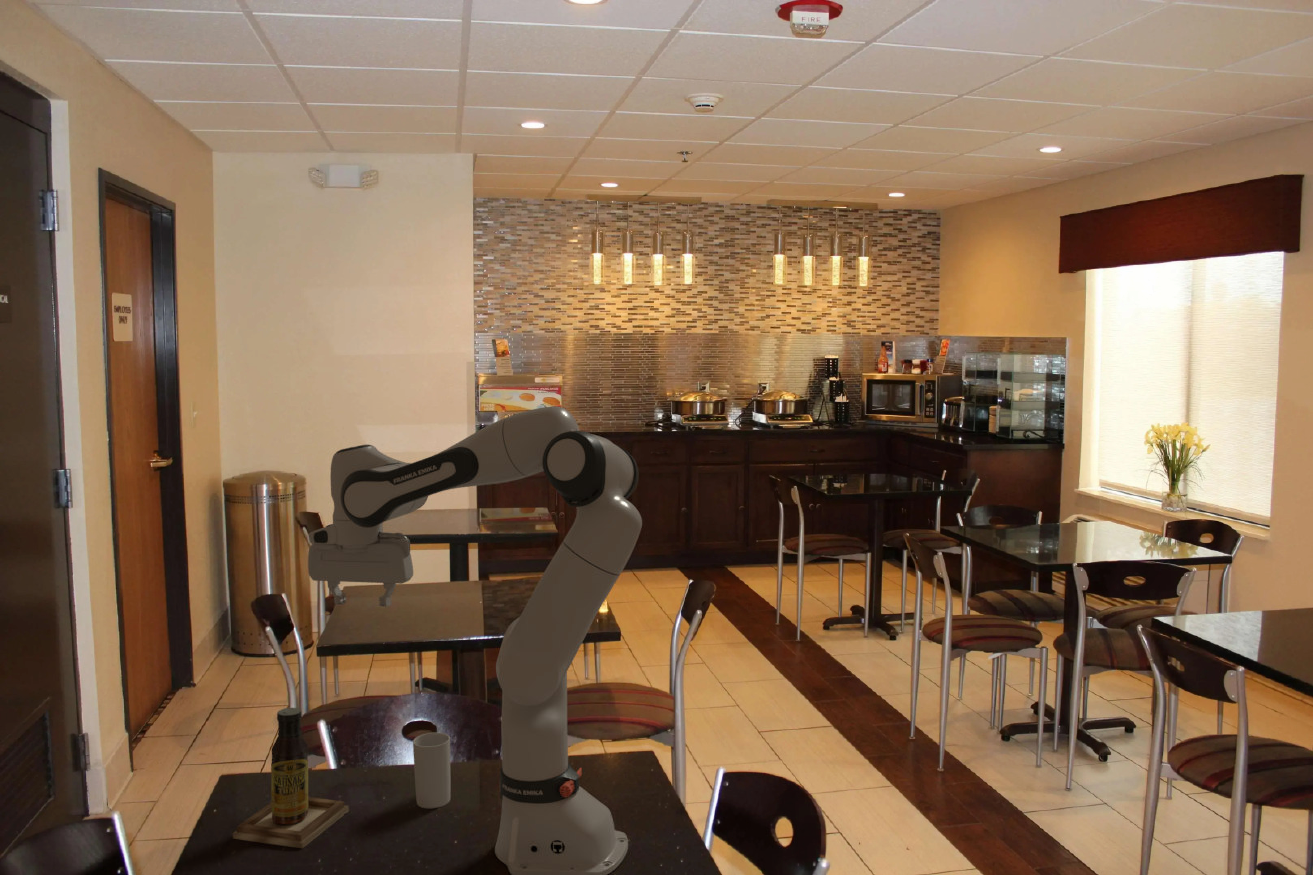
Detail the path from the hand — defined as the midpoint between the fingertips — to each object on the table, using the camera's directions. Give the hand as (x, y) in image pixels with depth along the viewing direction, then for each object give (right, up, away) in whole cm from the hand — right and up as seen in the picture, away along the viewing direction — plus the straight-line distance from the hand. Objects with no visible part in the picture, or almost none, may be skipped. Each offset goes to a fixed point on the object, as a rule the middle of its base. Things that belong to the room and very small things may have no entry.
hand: (362, 604), depth 186 cm
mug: (+13, -37, +2) cm, 39 cm away
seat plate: (-10, -38, -8) cm, 40 cm away
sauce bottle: (-11, -37, -8) cm, 40 cm away
